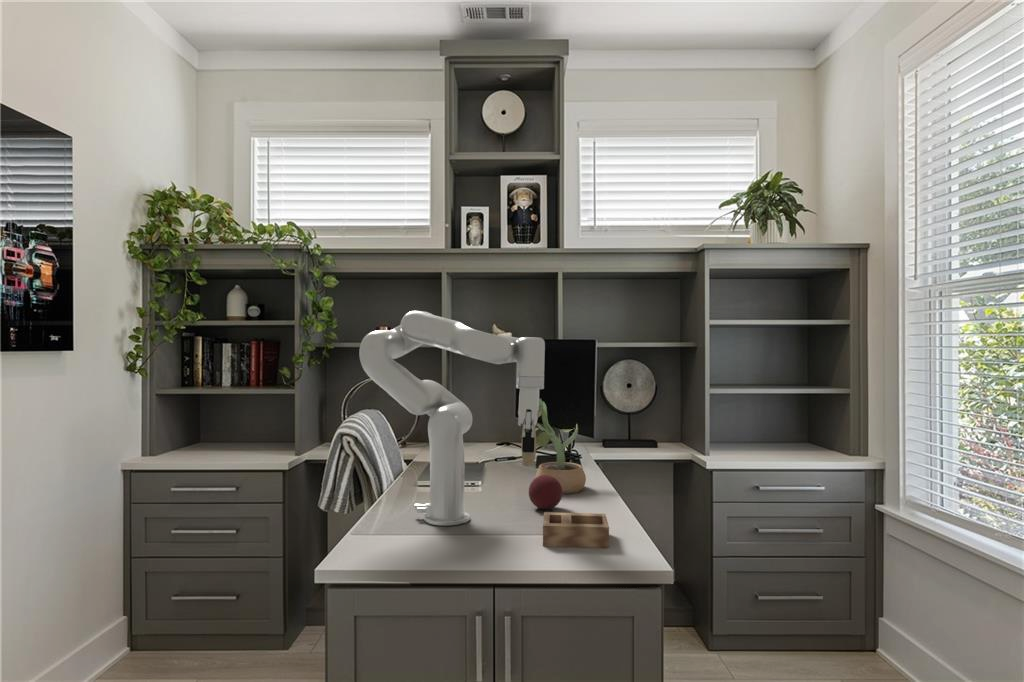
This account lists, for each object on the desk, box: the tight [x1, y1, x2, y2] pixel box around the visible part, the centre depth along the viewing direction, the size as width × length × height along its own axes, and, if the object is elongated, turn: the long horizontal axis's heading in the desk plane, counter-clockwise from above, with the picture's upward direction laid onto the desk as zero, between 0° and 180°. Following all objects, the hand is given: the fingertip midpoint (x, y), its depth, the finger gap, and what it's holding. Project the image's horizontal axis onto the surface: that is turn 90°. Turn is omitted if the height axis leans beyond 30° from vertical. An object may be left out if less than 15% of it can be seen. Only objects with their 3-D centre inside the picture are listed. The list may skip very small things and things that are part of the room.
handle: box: [517, 409, 542, 468], centre depth 175 cm, size 5×6×15 cm
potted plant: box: [517, 398, 587, 495], centre depth 219 cm, size 22×18×30 cm
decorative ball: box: [528, 475, 563, 511], centre depth 192 cm, size 10×10×10 cm
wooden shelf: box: [542, 511, 610, 549], centre depth 164 cm, size 16×12×5 cm
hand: (528, 449), depth 175 cm, fingers closed on handle, 4 cm apart
